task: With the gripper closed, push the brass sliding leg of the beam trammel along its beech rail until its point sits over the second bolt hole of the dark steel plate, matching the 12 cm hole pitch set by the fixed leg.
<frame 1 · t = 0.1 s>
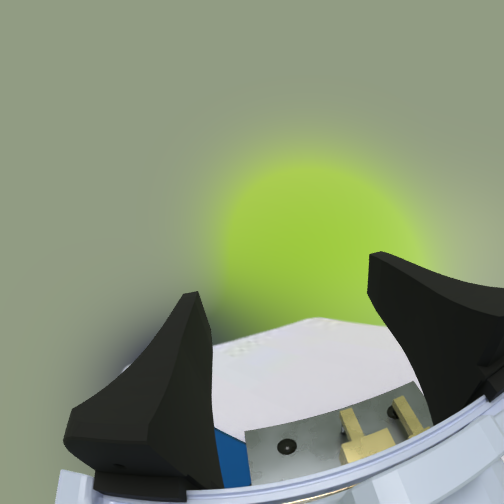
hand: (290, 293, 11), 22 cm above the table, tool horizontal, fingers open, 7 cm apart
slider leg: (359, 447, 19), point 4 cm above the table, slide at 0.0 cm
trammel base: (355, 464, 20), on the table
smartphone: (203, 456, 24), on the table
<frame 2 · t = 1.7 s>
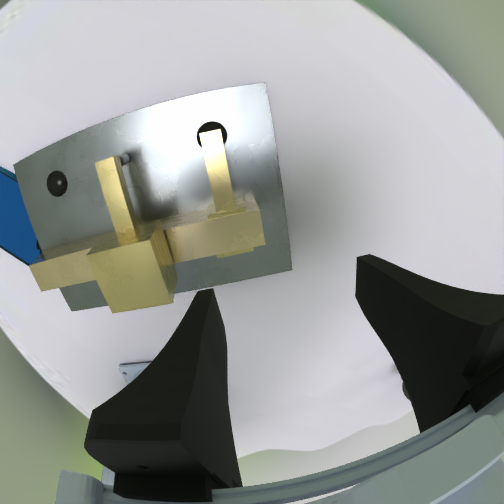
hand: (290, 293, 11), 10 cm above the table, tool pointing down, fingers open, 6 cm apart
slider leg: (127, 225, 16), point 4 cm above the table, slide at 0.0 cm
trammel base: (143, 209, 19), on the table
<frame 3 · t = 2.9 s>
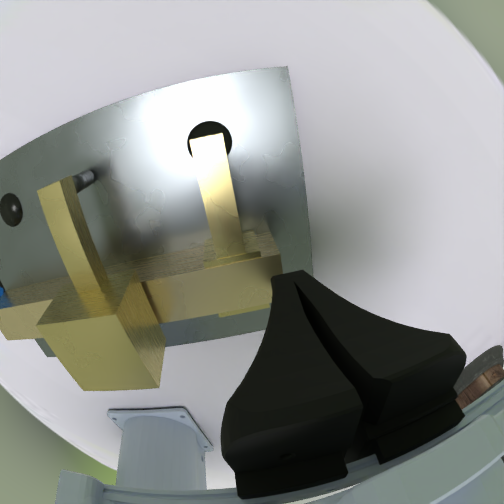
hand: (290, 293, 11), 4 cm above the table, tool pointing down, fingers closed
tankard: (456, 387, 29), on the table
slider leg: (91, 276, 11), point 4 cm above the table, slide at 0.0 cm
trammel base: (118, 244, 14), on the table
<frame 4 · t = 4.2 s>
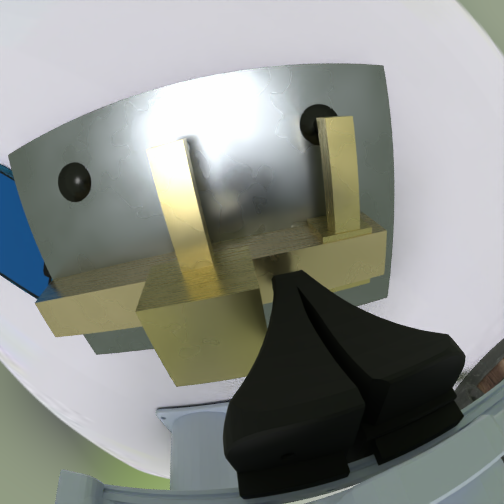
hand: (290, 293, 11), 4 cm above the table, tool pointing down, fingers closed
tankard: (478, 372, 30), on the table
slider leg: (196, 253, 11), point 4 cm above the table, slide at 0.4 cm, touching gripper
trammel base: (208, 222, 14), on the table
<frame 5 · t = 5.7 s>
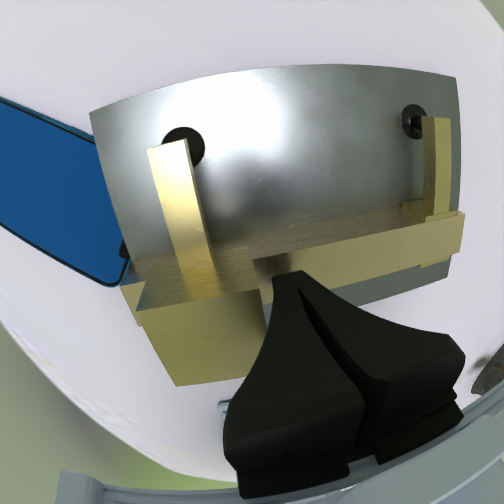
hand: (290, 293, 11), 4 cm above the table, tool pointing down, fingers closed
tankard: (498, 359, 30), on the table
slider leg: (196, 253, 11), point 4 cm above the table, slide at 6.0 cm, touching gripper
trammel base: (317, 201, 14), on the table
smartphone: (37, 177, 12), on the table
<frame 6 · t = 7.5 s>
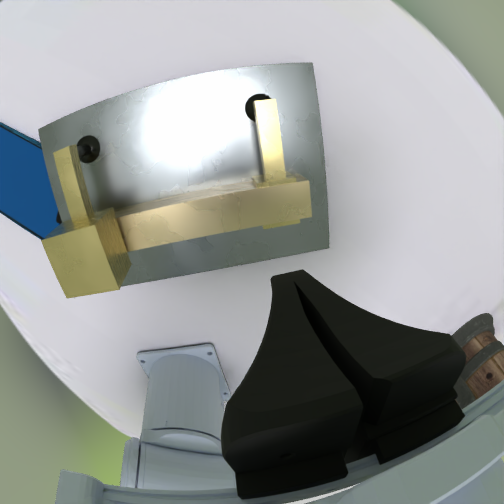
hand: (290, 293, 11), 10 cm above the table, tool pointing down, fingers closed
tankard: (451, 352, 35), on the table
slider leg: (83, 212, 15), point 4 cm above the table, slide at 6.0 cm
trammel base: (181, 179, 19), on the table
smartphone: (12, 171, 16), on the table
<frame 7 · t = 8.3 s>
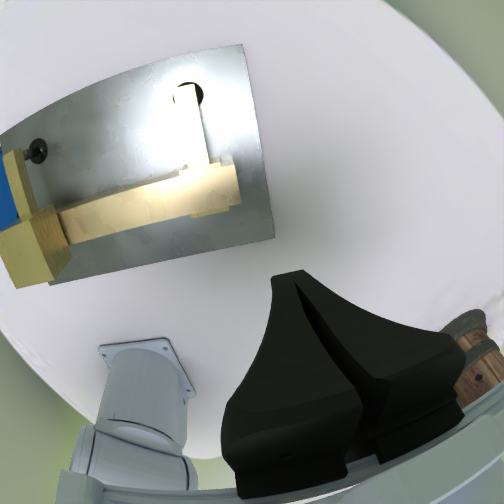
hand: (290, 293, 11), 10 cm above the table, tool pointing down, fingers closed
tankard: (439, 351, 33), on the table
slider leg: (29, 209, 14), point 4 cm above the table, slide at 6.0 cm
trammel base: (119, 174, 18), on the table
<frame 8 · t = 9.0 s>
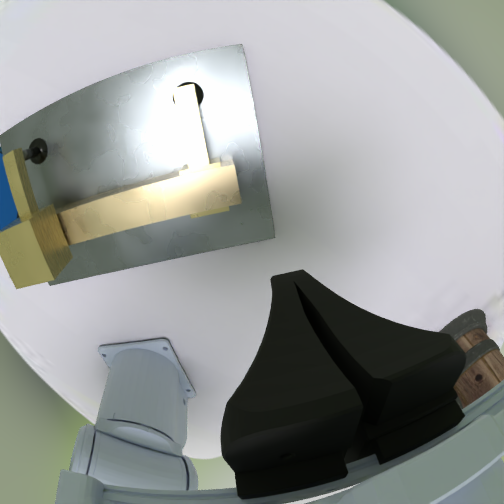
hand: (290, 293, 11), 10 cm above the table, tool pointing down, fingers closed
tankard: (439, 351, 33), on the table
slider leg: (29, 209, 14), point 4 cm above the table, slide at 6.0 cm
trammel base: (119, 174, 18), on the table
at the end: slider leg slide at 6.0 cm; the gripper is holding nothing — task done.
